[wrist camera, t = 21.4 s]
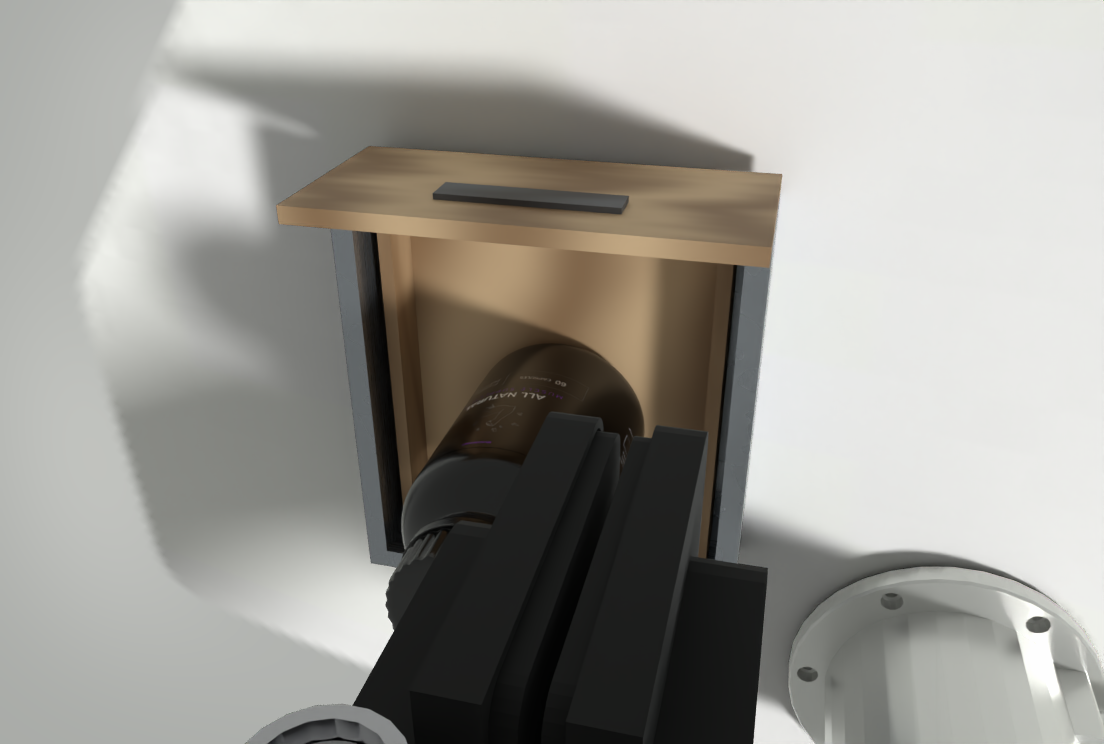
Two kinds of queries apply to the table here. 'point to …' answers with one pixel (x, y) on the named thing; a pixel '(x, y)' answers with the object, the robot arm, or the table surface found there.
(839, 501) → the table surface
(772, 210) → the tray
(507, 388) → the supplement bottle
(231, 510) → the table surface
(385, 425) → the housing
